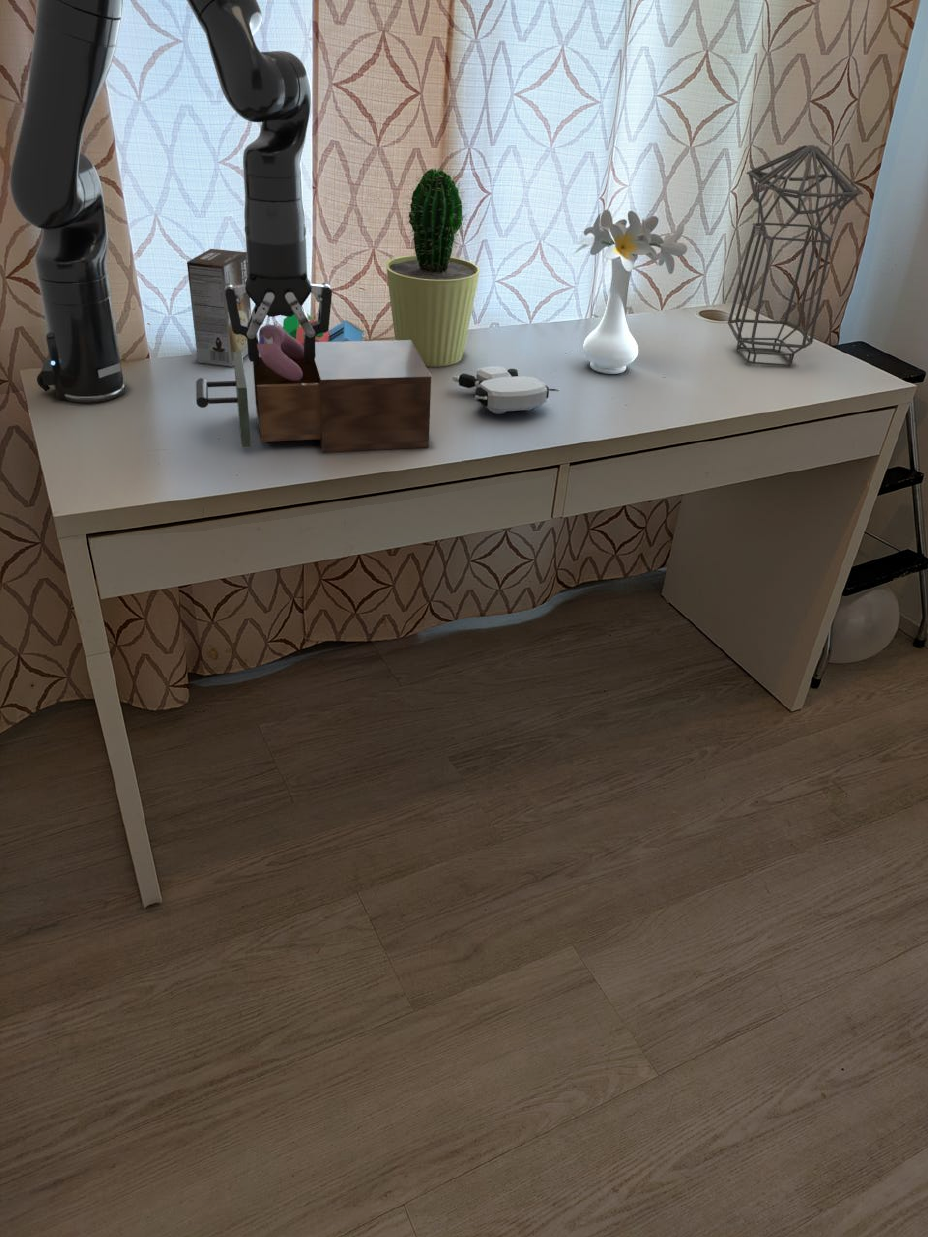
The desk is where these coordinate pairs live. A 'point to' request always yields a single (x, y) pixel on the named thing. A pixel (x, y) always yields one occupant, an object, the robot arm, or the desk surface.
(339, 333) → the building blocks
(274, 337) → the video game controller
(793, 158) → the geometric lantern
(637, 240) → the flower vase
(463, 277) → the potted cactus
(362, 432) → the cabinet
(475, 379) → the robot toy
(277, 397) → the drawer
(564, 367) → the desk surface
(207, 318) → the coffee box
